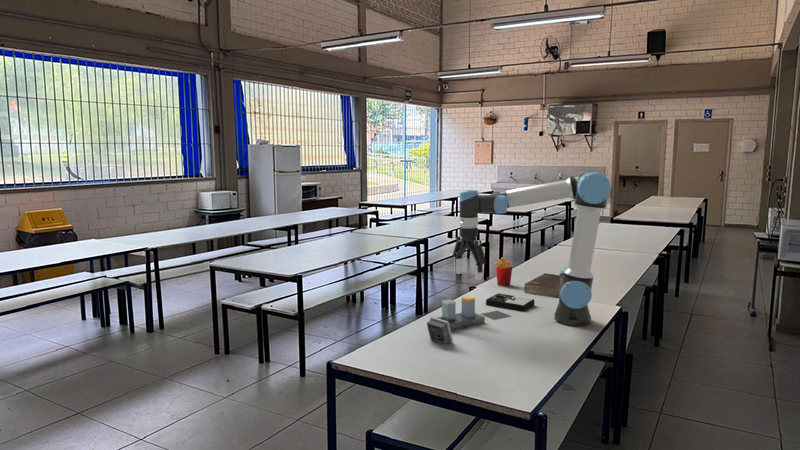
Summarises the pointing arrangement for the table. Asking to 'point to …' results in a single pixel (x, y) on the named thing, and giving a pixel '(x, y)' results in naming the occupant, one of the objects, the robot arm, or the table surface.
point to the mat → (495, 315)
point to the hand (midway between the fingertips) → (468, 276)
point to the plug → (468, 307)
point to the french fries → (503, 272)
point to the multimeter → (510, 302)
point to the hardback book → (544, 285)
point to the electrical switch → (439, 330)
